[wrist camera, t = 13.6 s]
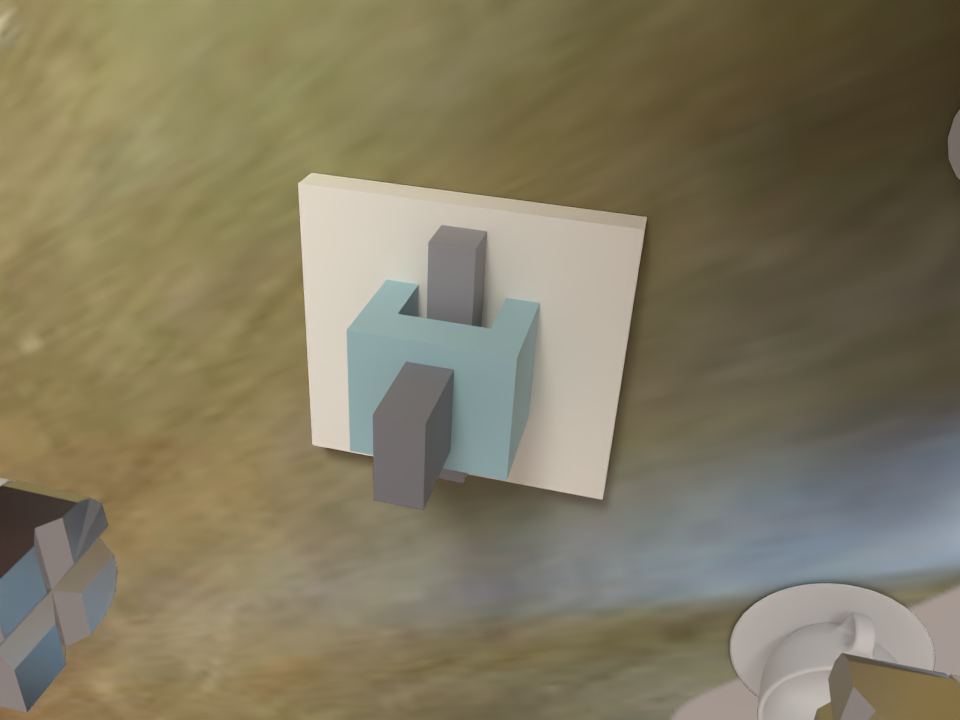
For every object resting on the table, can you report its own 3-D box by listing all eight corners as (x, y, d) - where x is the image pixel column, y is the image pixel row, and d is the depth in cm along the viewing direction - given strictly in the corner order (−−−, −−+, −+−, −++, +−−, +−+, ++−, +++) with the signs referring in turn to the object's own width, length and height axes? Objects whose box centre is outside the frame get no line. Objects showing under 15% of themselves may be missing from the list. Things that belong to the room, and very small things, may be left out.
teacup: (896, 734, 48) (911, 812, 44) (711, 688, 50) (710, 760, 46) (963, 603, 43) (987, 679, 39) (755, 556, 45) (758, 624, 41)
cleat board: (311, 172, 40) (278, 198, 37) (647, 216, 37) (640, 248, 34) (323, 428, 47) (296, 467, 44) (605, 481, 44) (597, 526, 41)
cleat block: (386, 279, 40) (306, 380, 32) (539, 302, 39) (494, 412, 31) (386, 392, 43) (314, 508, 35) (528, 417, 42) (485, 542, 34)
